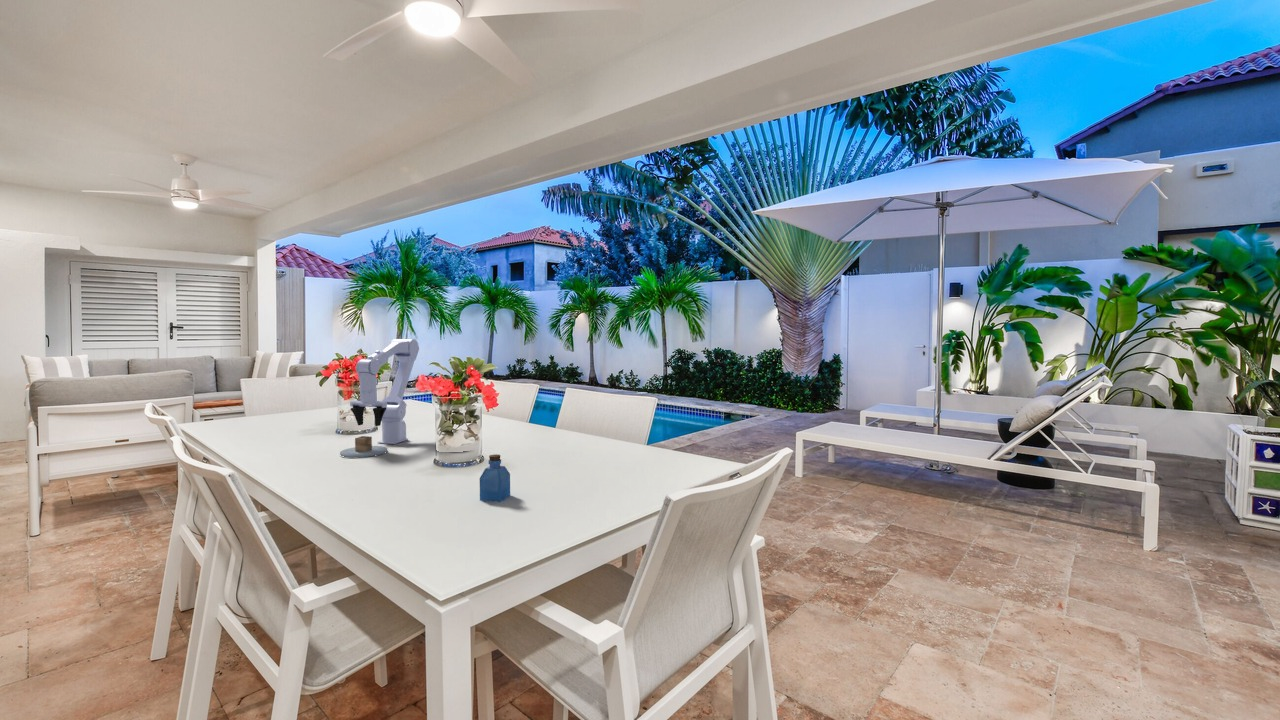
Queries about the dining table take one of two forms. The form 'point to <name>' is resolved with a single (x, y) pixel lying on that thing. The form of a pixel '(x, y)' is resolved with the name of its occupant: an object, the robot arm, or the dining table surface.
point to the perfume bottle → (495, 481)
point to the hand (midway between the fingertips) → (369, 425)
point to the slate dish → (352, 453)
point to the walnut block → (363, 444)
